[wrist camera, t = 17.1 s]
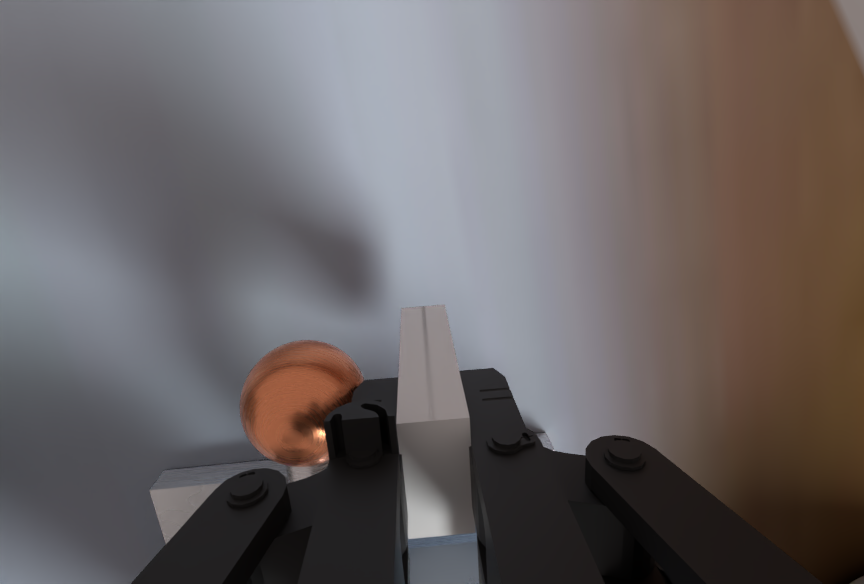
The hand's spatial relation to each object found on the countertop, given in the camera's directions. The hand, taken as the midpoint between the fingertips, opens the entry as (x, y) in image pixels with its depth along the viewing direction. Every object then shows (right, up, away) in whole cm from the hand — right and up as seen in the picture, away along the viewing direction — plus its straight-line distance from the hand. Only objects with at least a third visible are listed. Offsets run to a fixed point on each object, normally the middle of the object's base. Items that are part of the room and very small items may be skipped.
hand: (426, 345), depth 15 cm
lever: (-3, -4, -1) cm, 5 cm away
